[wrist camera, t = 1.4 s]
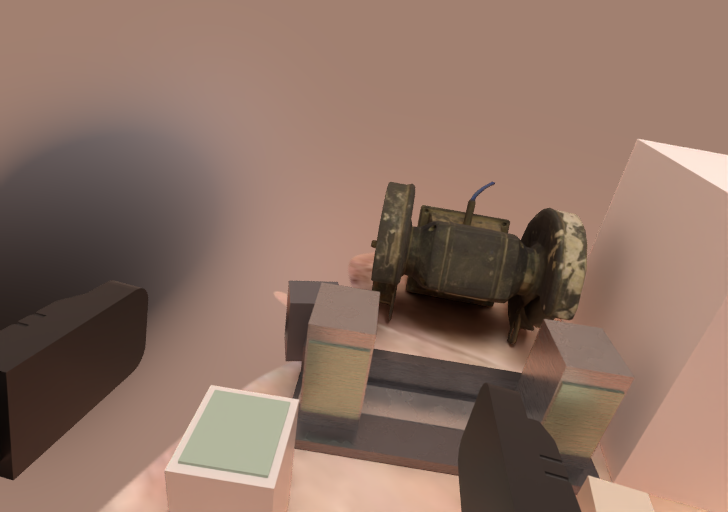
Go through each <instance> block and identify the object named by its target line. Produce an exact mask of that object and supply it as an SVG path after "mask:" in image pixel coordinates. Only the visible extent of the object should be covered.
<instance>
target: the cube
mask: <svg viewBox="0 0 728 512" xmlns="http://www.w3.org/2000/svg"><path fill="white" fill-rule="evenodd" d="M562 322H566V323H572V324H578V325H584V326H591V327H597V328H602V329H603V330H604V332H605V333H606V335H607V336H608V338H609V339H610V341H611V342H612V344H613V345H614V347H615V348H616V350H617V351H618V353H619V354H620V356H621V357H622V359H623V360H624V362H625V363H626V365H627V366H628V368H629V369H630V371H631V372H632V374H633V375H634V377H635V378H634V380H633V382H632V384H631V386H630V387H629V389H628V391H627V393H626V395H625V396H624V398H623V400H622V402H621V404H620V405H619V407H618V409H617V411H616V413H615V415H614V416H613V418H612V420H611V422H610V424H609V425H608V427H607V429H606V431H605V433H604V434H603V436H602V438H601V440H600V446H601V449H602V452H603V455H604V458H605V462H606V465H607V468H608V471H609V474H610V478H611V481H612V483H615V484H619V485H622V486H625V487H628V488H632V489H635V490H638V491H642V492H645V493H648V494H649V495H653V496H656V497H660V498H663V499H667V500H671V501H674V502H678V503H681V504H685V505H688V506H692V507H696V508H699V509H703V510H706V511H710V512H728V155H724V154H719V153H713V152H708V151H702V150H697V149H691V148H685V147H680V146H674V145H669V144H663V143H657V142H652V141H647V140H641V139H637V141H636V144H635V146H634V148H633V151H632V153H631V156H630V158H629V160H628V163H627V165H626V167H625V170H624V172H623V174H622V177H621V180H620V181H619V184H618V186H617V189H616V191H615V193H614V196H613V198H612V201H611V203H610V205H609V208H608V210H607V213H606V215H605V217H604V220H603V222H602V224H601V227H600V229H599V232H598V234H597V236H596V239H595V241H594V244H593V246H592V248H591V251H590V253H589V255H588V258H587V271H586V275H585V280H584V284H583V288H582V292H581V296H580V301H579V305H578V309H577V311H576V313H575V315H574V317H573V319H572V320H564V319H562Z"/></svg>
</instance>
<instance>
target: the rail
mask: <svg viewBox="0 0 728 512" xmlns="http://www.w3.org/2000/svg"><path fill="white" fill-rule="evenodd" d="M379 297H380V292H377V291H371V290H365V289H358V288H352V287H346V286H339V285H334V284H328V283H321V286H320V289H319V292H318V295H317V298H316V302H315V305H314V308H313V311H312V314H311V317H310V320H309V323H308V331H307V338H306V339H305V342H304V346H303V355H302V365H301V372H300V375H299V379H298V382H297V385H296V389H295V392H294V395H293V399H299V407H298V417H297V427H296V437H295V447H294V448H297V449H303V450H309V451H315V452H321V453H327V454H333V455H339V456H345V457H351V458H357V459H363V460H369V461H375V462H382V463H388V464H394V465H400V466H406V467H412V468H418V469H424V470H430V471H436V472H442V473H448V474H454V475H459V472H458V454H459V447H460V443H461V439H462V436H463V433H464V430H465V428H466V425H467V422H468V420H469V417H470V414H471V412H472V409H473V406H474V404H475V401H476V399H477V396H478V393H479V391H480V389H481V387H482V385H483V384H484V383H489V384H492V385H496V386H500V387H503V388H507V389H511V390H514V391H518V392H519V393H520V395H521V398H522V401H523V404H524V407H525V410H526V414H527V417H528V418H530V419H534V420H537V421H539V422H540V423H541V424H542V425H543V426H544V428H545V429H546V430H547V431H548V433H549V434H550V435H551V436H552V438H553V439H554V440H555V442H556V445H557V447H558V450H559V453H560V455H561V458H562V464H563V465H564V466H565V469H566V471H567V474H568V477H569V480H568V481H569V482H571V485H572V487H573V490H574V493H575V495H577V494H578V492H579V491H580V489H581V487H582V485H583V484H584V482H585V480H586V478H587V476H588V475H589V476H592V477H595V478H599V475H598V473H597V471H596V469H595V466H594V464H593V462H592V459H591V456H592V454H593V453H594V451H595V449H596V447H597V445H598V444H599V442H600V440H601V438H602V436H603V434H604V433H605V431H606V429H607V427H608V425H609V424H610V422H611V420H612V418H613V416H614V415H615V413H616V411H617V409H618V407H619V405H620V404H621V402H622V400H623V398H624V396H625V395H626V393H627V391H628V389H629V387H630V386H631V384H632V382H633V380H634V378H635V377H634V375H633V374H632V372H631V371H630V369H629V368H628V366H627V365H626V363H625V362H624V360H623V359H622V357H621V356H620V354H619V353H618V351H617V350H616V348H615V347H614V345H613V344H612V342H611V341H610V339H609V338H608V336H607V335H606V333H605V332H604V330H603V329H602V328H597V327H591V326H584V325H578V324H572V323H566V322H560V321H554V320H548V319H543V322H542V324H541V327H540V329H539V332H538V334H537V337H536V339H535V342H534V344H533V347H532V349H531V352H530V354H529V357H528V359H527V362H526V364H525V367H524V369H523V372H522V373H518V372H512V371H506V370H500V369H494V368H487V367H481V366H475V365H469V364H463V363H457V362H451V361H445V360H439V359H433V358H427V357H421V356H414V355H408V354H402V353H396V352H390V351H384V350H378V349H374V343H375V338H376V331H377V320H378V308H379ZM599 479H600V478H599Z"/></svg>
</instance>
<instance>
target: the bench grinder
mask: <svg viewBox="0 0 728 512" xmlns="http://www.w3.org/2000/svg"><path fill="white" fill-rule="evenodd" d="M494 184H495V183H494V182H491V183H489V184H487V185H485V186H484V187H482V188H481V189H479V190H478V191H477V192H476V193H475V194H474V195H473V196H472V198H471V199H470V200H469V202H468V206H467V210H466V213H465V212H460V211H454V210H448V209H443V208H436V207H431V206H425V205H423V206H422V207H421V210H420V215H419V220H418V226H417V227H412V221H411V216H412V210H413V204H414V197H415V186H414V185H413V184H409V185H405V184H399V183H394V182H390V183H389V184H388V187H387V191H386V195H385V200H384V205H383V211H382V215H381V221H380V225H379V232H378V237H377V241H375V240H373V241H372V244H371V246H372V247H373V248H376V251H375V257H374V263H373V271H372V279H371V280H372V281H374V282H373V288H372V291H377V292H380V297H379V302H380V303H385V304H387V305H389V306H390V311H389V321H390V320H391V316H392V312H393V307H394V301H395V296H396V290H397V285H398V283H399V282H400V279H401V277H402V276H403V275H408V279H407V285H406V290H407V291H408V292H413V293H419V294H424V295H429V296H434V297H440V298H445V299H451V300H456V301H461V302H467V303H472V304H478V305H483V306H488V307H492V306H493V304H494V302H498V303H505V302H506V301H507V300H508V316H509V322H510V332H509V335H508V339H507V341H508V342H509V343H511V344H513V343H516V340H517V336H518V332H519V328H522V329H527V330H531V331H533V330H534V328H533V325H534V326H535V327H538V328H540V327H541V324H542V322H543V319H548V320H554V319H555V318H559V319H564V320H572V319H573V317H574V315H575V313H576V311H577V309H578V305H579V301H580V296H581V292H582V288H583V284H584V280H585V275H586V271H587V240H586V232H585V229H584V226H583V224H582V222H581V220H580V218H579V217H578V216H577V215H575V214H572V213H568V212H563V211H557V210H553V209H551V208H547V209H543V210H542V211H540V212H539V213H538V214H537V215H536V216H535V217H534V218H533V219H532V220H531V221H530V223H529V224H528V226H527V228H526V230H525V232H524V234H523V236H522V239H521V240H520V239H519V238H518V237H517V236H515V235H513V234H508V230H509V225H510V221H509V220H505V219H500V218H494V217H488V216H483V215H477V214H473V212H474V208H475V199H476V197H477V196H478V195H479V194H480V193H481V192H482V191H484V189H486V188H488V187H490V186H492V185H494ZM513 329H514V330H513ZM512 330H513V334H512V337H511V333H512ZM510 337H511V338H510Z"/></svg>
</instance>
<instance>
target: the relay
mask: <svg viewBox="0 0 728 512" xmlns="http://www.w3.org/2000/svg"><path fill="white" fill-rule="evenodd" d="M321 283H328V284H334V285H338V282H318V281H316V282H315V281H289V285H288V287H289V288H288V299H287V313H286V326H285V355H286V361H302V355H303V346H304V342H305V339H306V338H307V331H308V323H309V320H310V317H311V314H312V311H313V308H314V305H315V302H316V298H317V295H318V292H319V289H320V286H321Z"/></svg>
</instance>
